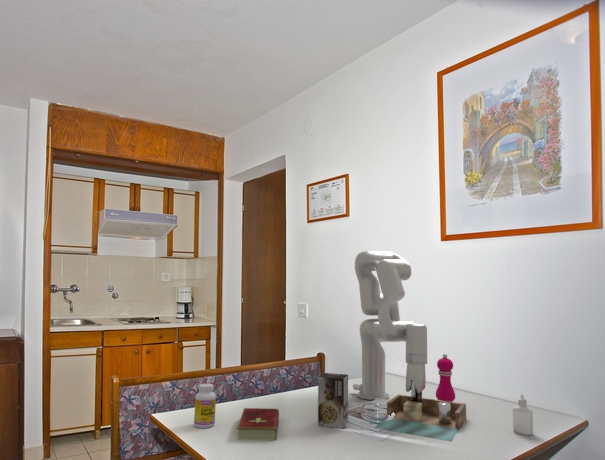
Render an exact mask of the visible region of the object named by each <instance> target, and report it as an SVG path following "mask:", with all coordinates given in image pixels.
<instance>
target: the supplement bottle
mask: <svg viewBox="0 0 605 460" xmlns="http://www.w3.org/2000/svg"><path fill="white" fill-rule="evenodd" d="M213 390H214V384H213V383H201V384H198V392H197V393H196V394H195V398H194V418H193V419H194V420H193V425H194V427H196V428H199V429H208V428H212V427H213V426H215V424H216V406H217V405H216V404H217V402H216V401H217V395H216V393H215V392H214V391H213Z"/></svg>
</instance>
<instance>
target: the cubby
mask: <svg viewBox="0 0 605 460" xmlns="http://www.w3.org/2000/svg"><path fill="white" fill-rule="evenodd" d="M407 401H412V397H411V395H406V394H404V395H403V394H397V395H396V396H394V397H393V398H391V399H389V400H388V401H387V402H386V415H387V414H388V415H390V416H391V414H392V413H393V412H394V413H395V416H394V418H393V419H392V420H390V421H383V420H382V421H380V423H378V424H377V425H375V426H374V429H379V430H385V431H389V432H396V433H400V434H401V433H402V434H406V435H412V436H417V437H424V438H430V439H435V440H440V441H441V440H442V441H447V442H452V441H453V439H454V438H455V436H456V435H457V433H458V432H459V431H460V429H461V428H462V426H463V424H464V423H465V422H466V420H467V403H462V402H455V401H453V402H449V401H442V400H438V399H435V398H434V399H432V398H426V397H422V418H421V419H420V420H419V421H411V420H405V419H404V411H403V404H404V403H405V402H407ZM439 402H447V403H450V406H451V423H450V424H442V423H439V415H438V403H439Z"/></svg>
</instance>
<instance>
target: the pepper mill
mask: <svg viewBox="0 0 605 460" xmlns="http://www.w3.org/2000/svg"><path fill="white" fill-rule="evenodd" d="M436 367H437V369H438V375H439V382H438V386H437V388H436V391H435V398H436V400H442V401H449V402H455V401H454V400H456V392H455V389H454V387H453V385H452V382H451V379H452V376H453V374H452V373H453V371H452V370H453V368H454V362H453V361H452V360H451V359H450V358H449V357H448V355H447V353H443V354H442V357H440V358H439V359H438V360H437V362H436Z"/></svg>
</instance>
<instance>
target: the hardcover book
mask: <svg viewBox="0 0 605 460" xmlns="http://www.w3.org/2000/svg"><path fill="white" fill-rule="evenodd" d="M279 419H280V410H279V408H266V407H265V408H261V407H260V408H258V407H256V408H253V407H252V408H251V407H248V408H247V407H243V411H242V413H241V416H240V419H239V422H238V423H237V427H236V429H237V430H238V433H237V440H242V441H243V440H245V441H246V440H248V441H249V440H252V441H253V440H254V441H255V440H257V441H258V440H259V441H262V440H263V441H264V440H266V441H268V440H269V441H277V440H278V439H277V437H278V427H279Z"/></svg>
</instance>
